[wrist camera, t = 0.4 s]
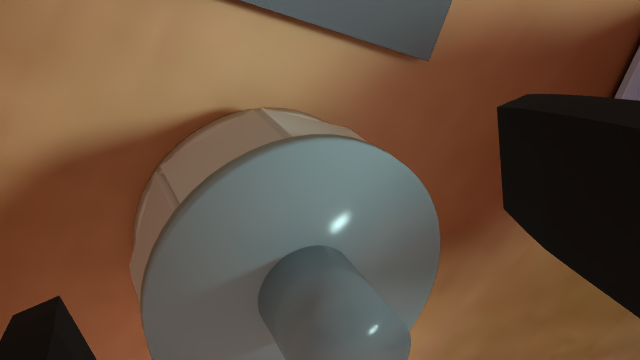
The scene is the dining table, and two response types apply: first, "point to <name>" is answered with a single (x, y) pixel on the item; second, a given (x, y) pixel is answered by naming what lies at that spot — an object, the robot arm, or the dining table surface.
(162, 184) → the bowl
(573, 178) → the robot arm
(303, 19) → the mat
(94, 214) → the dining table surface
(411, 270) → the lid
